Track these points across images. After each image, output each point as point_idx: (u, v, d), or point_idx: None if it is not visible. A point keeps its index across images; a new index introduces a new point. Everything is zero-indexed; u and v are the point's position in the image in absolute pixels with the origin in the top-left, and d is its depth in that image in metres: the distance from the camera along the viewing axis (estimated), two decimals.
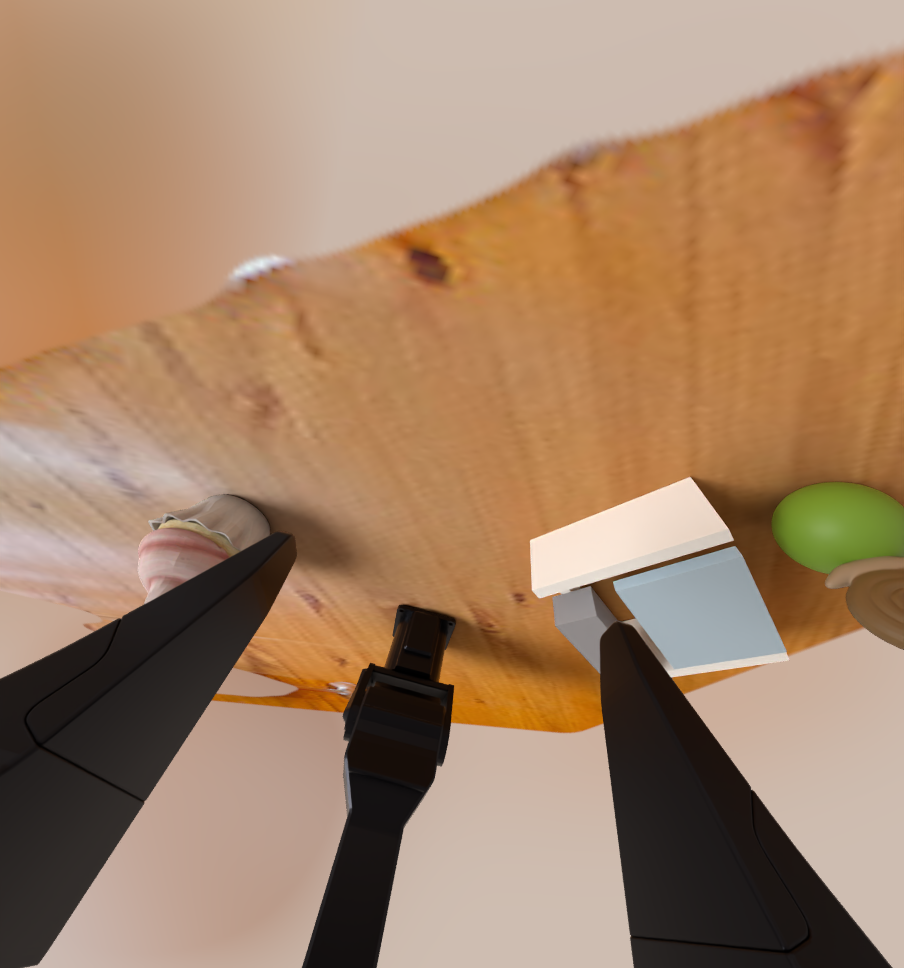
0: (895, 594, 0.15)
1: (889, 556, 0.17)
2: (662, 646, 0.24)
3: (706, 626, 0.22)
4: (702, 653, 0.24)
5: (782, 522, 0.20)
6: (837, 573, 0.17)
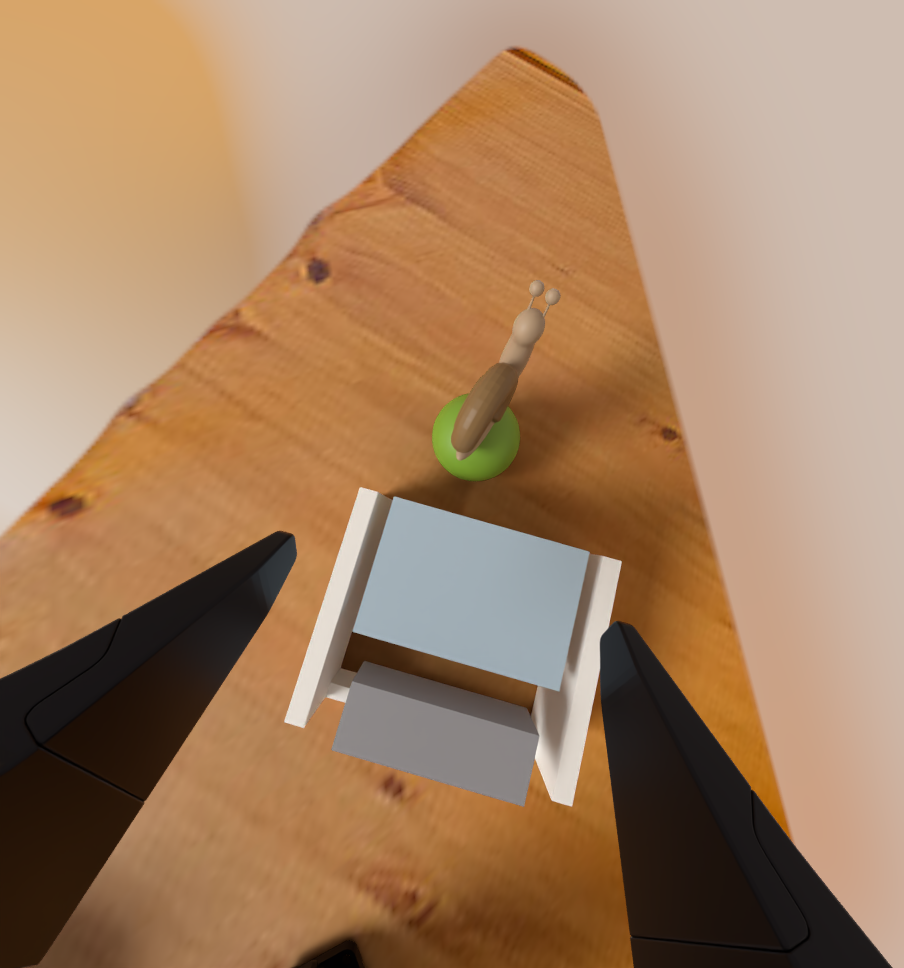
0: None
1: None
2: (494, 665, 0.16)
3: (484, 592, 0.17)
4: (540, 633, 0.17)
5: None
6: None
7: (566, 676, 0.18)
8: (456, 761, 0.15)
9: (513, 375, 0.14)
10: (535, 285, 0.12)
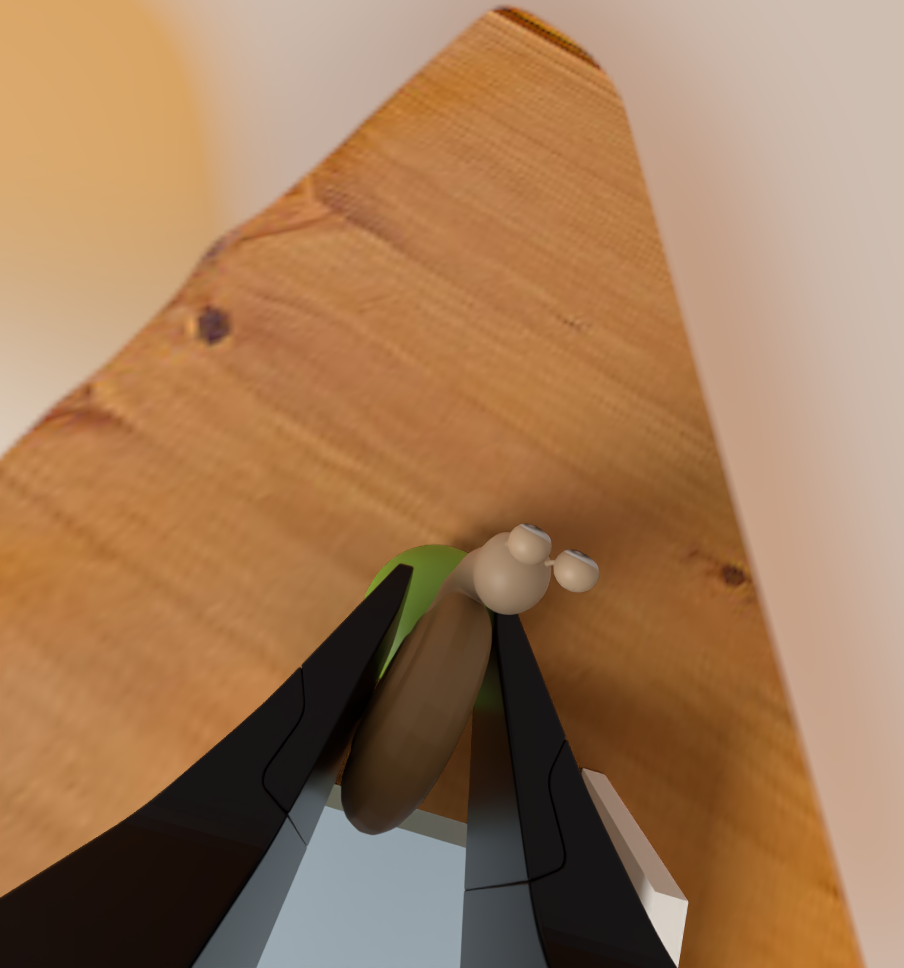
0: None
1: None
2: None
3: None
4: None
5: None
6: None
7: None
8: None
9: (475, 680, 0.06)
10: (526, 551, 0.04)
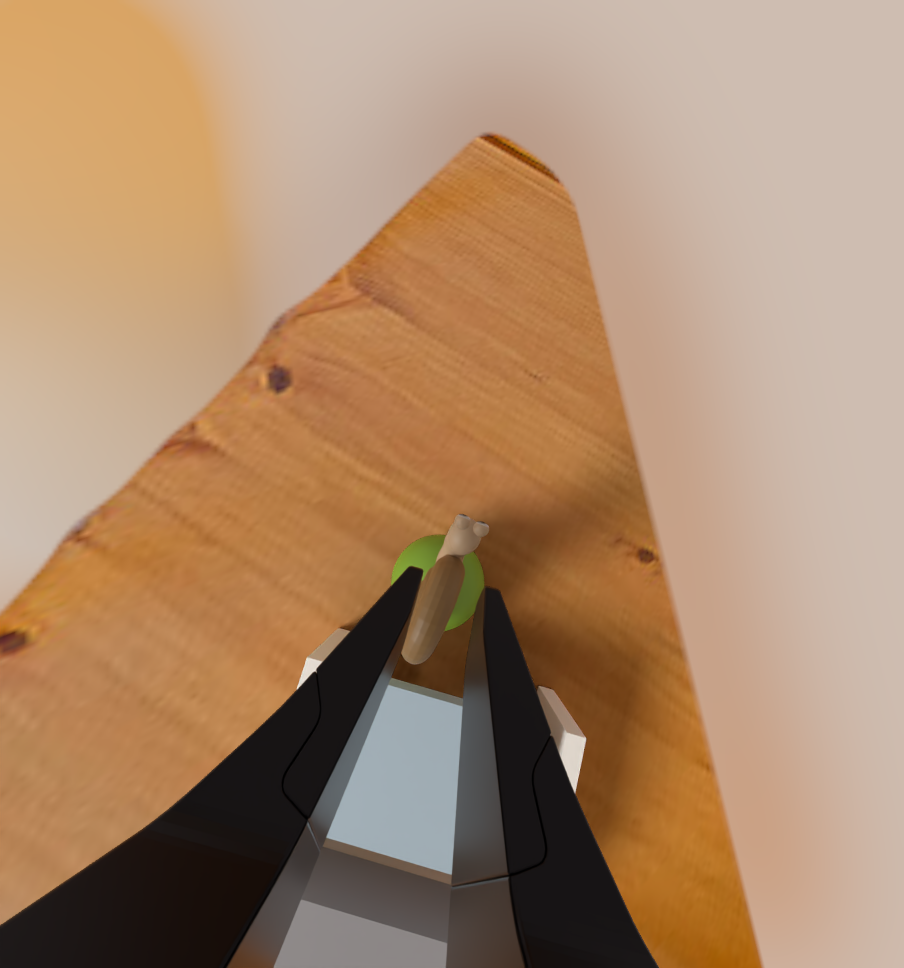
0: None
1: None
2: (446, 864, 0.15)
3: (437, 780, 0.16)
4: None
5: None
6: None
7: None
8: None
9: (455, 587, 0.13)
10: (459, 524, 0.11)
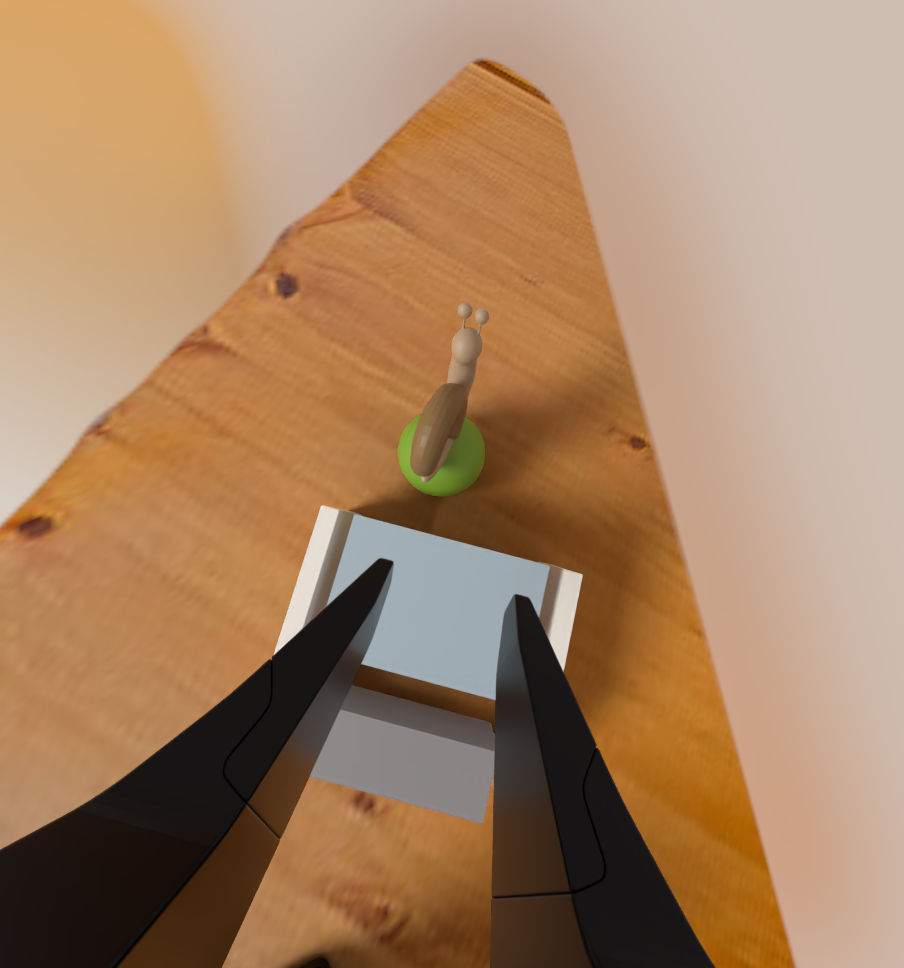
0: None
1: None
2: (455, 681, 0.16)
3: (445, 608, 0.17)
4: None
5: None
6: None
7: None
8: (415, 779, 0.15)
9: (459, 395, 0.14)
10: (463, 308, 0.12)
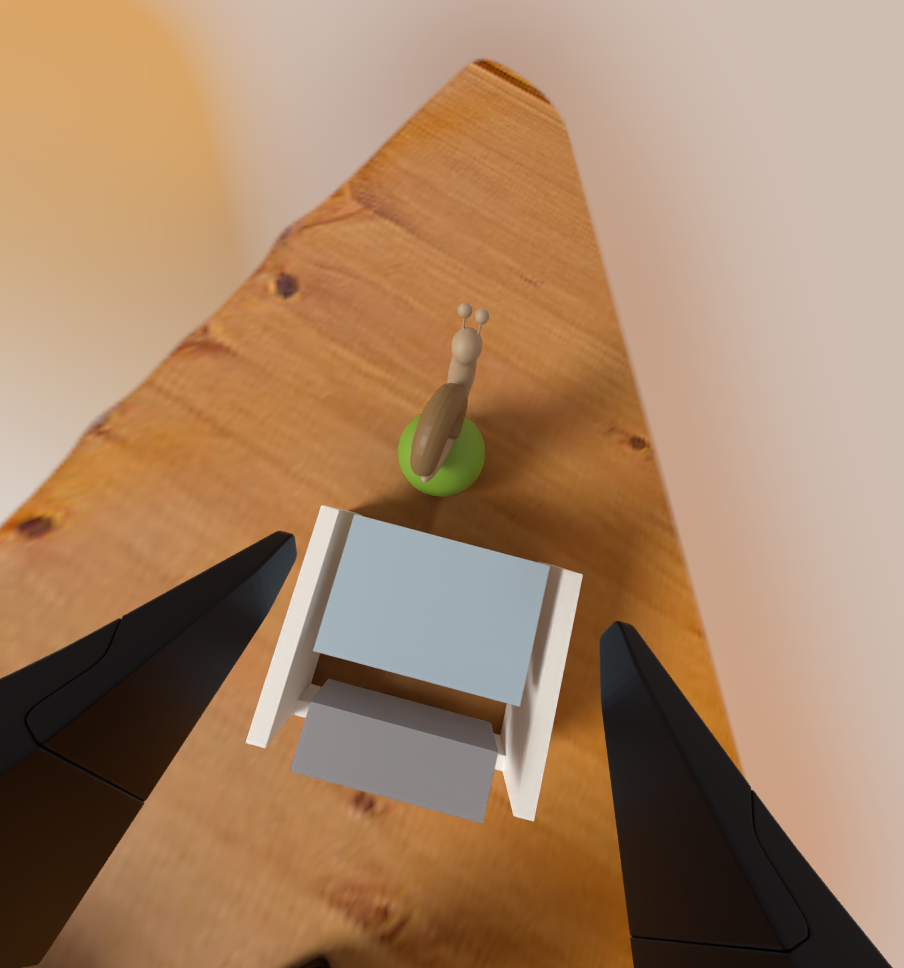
0: None
1: None
2: (455, 681, 0.16)
3: (445, 608, 0.17)
4: (501, 648, 0.17)
5: None
6: None
7: (530, 690, 0.18)
8: (415, 779, 0.15)
9: (459, 395, 0.14)
10: (463, 308, 0.12)
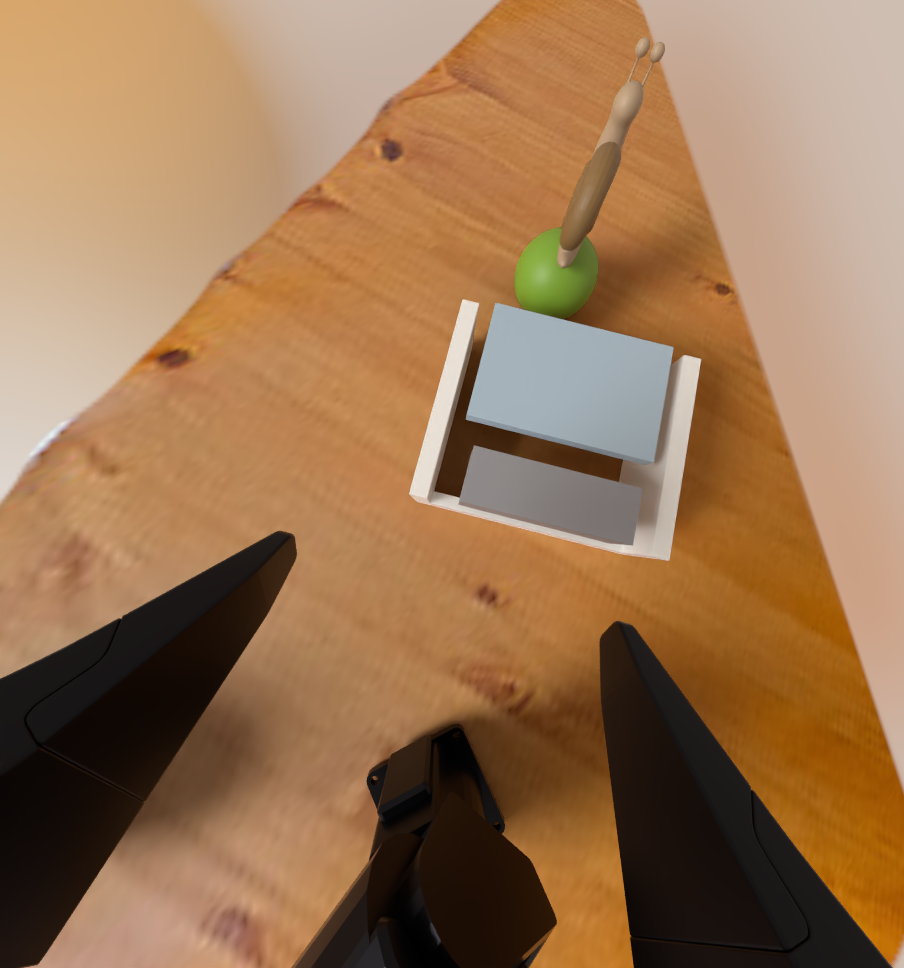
0: None
1: None
2: (595, 441, 0.18)
3: (582, 381, 0.19)
4: (634, 414, 0.18)
5: (528, 304, 0.22)
6: (557, 259, 0.19)
7: (652, 467, 0.20)
8: (571, 509, 0.17)
9: (619, 150, 0.16)
10: (643, 41, 0.14)
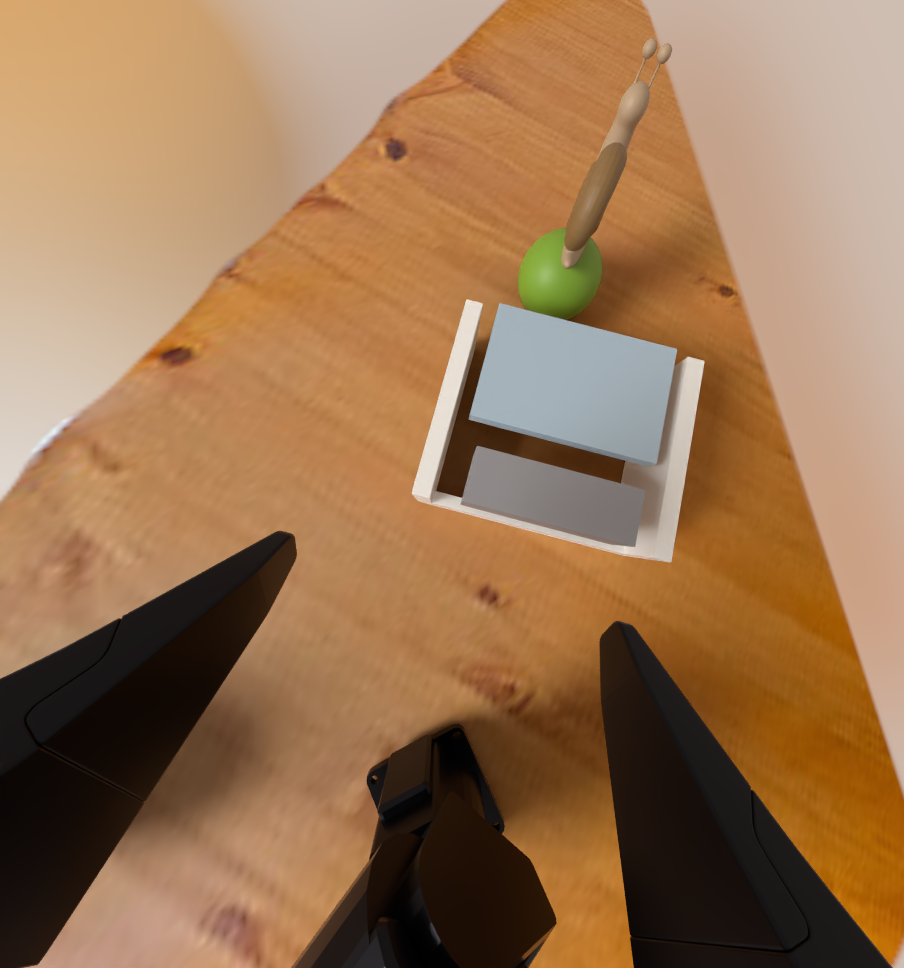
0: None
1: None
2: (598, 442, 0.18)
3: (585, 382, 0.19)
4: (637, 416, 0.18)
5: (531, 304, 0.22)
6: (561, 260, 0.19)
7: (655, 469, 0.20)
8: (573, 510, 0.17)
9: (625, 150, 0.16)
10: (651, 42, 0.14)
